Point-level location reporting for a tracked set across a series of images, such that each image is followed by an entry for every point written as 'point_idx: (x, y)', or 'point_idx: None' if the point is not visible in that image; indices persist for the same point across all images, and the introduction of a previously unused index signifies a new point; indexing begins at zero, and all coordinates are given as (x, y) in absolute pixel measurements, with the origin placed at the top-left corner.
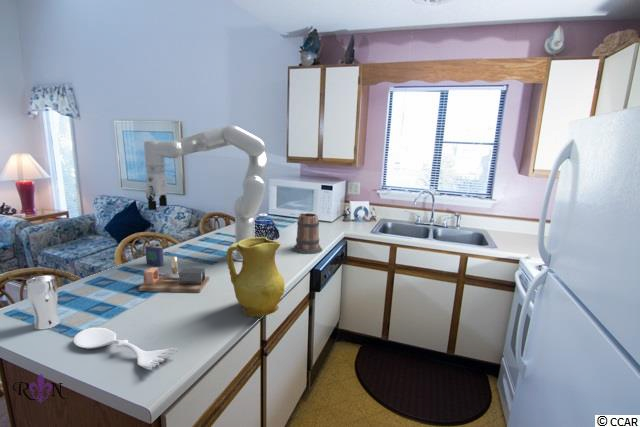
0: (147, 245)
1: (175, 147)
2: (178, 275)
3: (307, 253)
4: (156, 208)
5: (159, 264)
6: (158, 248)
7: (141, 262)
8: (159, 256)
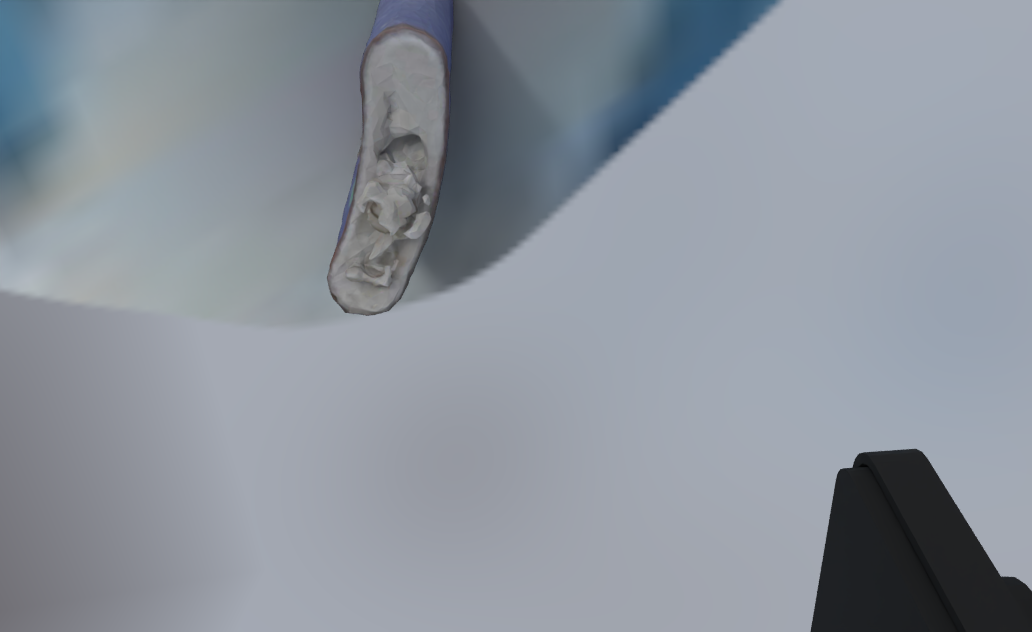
0: (380, 291)
1: None
2: None
3: None
4: (890, 480)
5: (452, 1)
6: (449, 75)
7: None
8: (448, 27)
